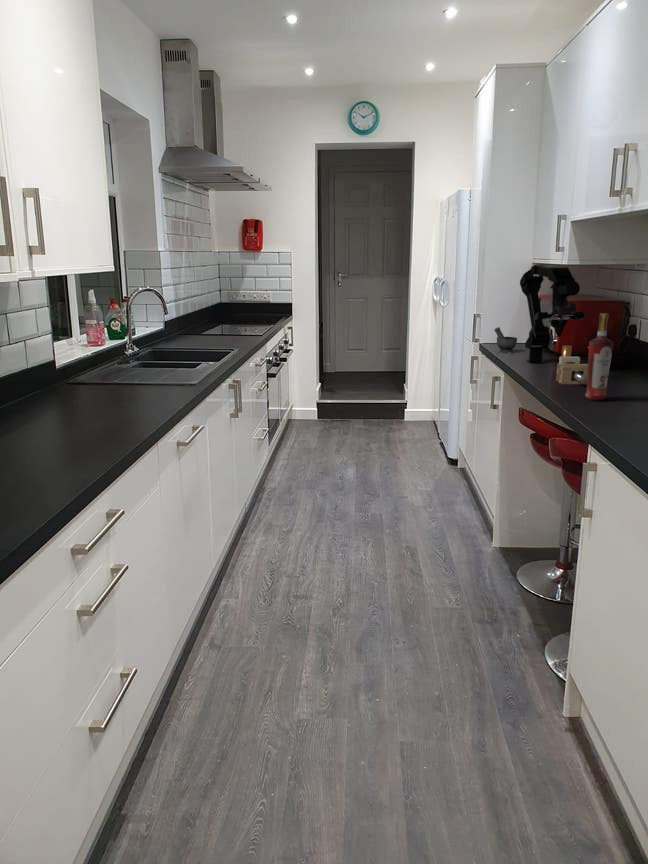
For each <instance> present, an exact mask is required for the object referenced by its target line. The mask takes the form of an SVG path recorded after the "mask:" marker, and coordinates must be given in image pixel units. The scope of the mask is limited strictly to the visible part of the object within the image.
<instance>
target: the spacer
mask: <svg viewBox="0 0 648 864" xmlns="http://www.w3.org/2000/svg"><path fill="white" fill-rule="evenodd" d="M558 360H559V361H558V364H566V362H570V363H572V364H581V357H580V356H571V357H561V356H559V358H558ZM576 372H578V371H576ZM571 378H573V377H571Z"/></svg>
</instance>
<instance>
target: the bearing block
mask: <svg viewBox="0 0 648 864" xmlns="http://www.w3.org/2000/svg"><path fill="white" fill-rule="evenodd" d="M572 371H578V373H579V374H581V375H583V376H585V377H586V381H585V382H583V383H582V382H580V381H578V380H576V379H575V378H572V377H571V375H572ZM555 377H556V378H555V381H556V382H557V381H558V382H557V383H559V384H560V383H561V384H560V385H587V377H588V363H580V364H573V363H570V364H559V363H557V364H556V376H555Z"/></svg>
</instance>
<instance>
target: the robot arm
mask: <svg viewBox="0 0 648 864" xmlns="http://www.w3.org/2000/svg"><path fill="white" fill-rule="evenodd" d="M544 277H545V278H547V279H548V280H549V281H550V282H552V285H551V286H550V289H552V290H551V292H552V295H551V296H552V297H551V298H552V299H551V300H552V301H551V305H552V306H551V313H548V311H542V309H541V302H540V297H539V292H540V290H541V288H542V283H543V282H544ZM519 285H520V289H521V292H522V293H523V294H524V295H525V296H526V300H527V305H528V306H527V307H528V312H529V318H530V326H531V328H530V330H529V332H528V337H527V339H526V341H525V343H524V346H525V347H524V348H526V349H529V355H528V359H526V361H527V362H528V363H529V364H544V363H546V361H544V360H543V358H544V349H549V347H550V342H551V338H552V337H551V333H550V328H549V326H548V325H547V326H546V325H545V324H544V321H543V320H547V319H549V320H548V323H551V326H552V327H553V328H554V332H555V334H556V336H557V338H561V337H562V334H563V332H564V329H565V326H566V324H567V323H568V322H570V321H571V320H573V321H574V320H576V321H578V320H583V319H585V318H586V315H585V312H584V311H577V303H576V302H570V304H569V300H568V298H569V297H573V296H576V295H578V294H579V293H580V290H581V288H580V287H581V286H580V284H579V283H578V282H577V281H576V278H575V277H574V276H573V275H572V272H571V270H570V268H569V267H567V266H564V267H563V266H557V267H556V266H555V267H551V266H546V265H544V264H535V265H532V266H531V267H530V269H528V271H526V272H525V273H523V274H522V276H521V278H520V281H519Z"/></svg>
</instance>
